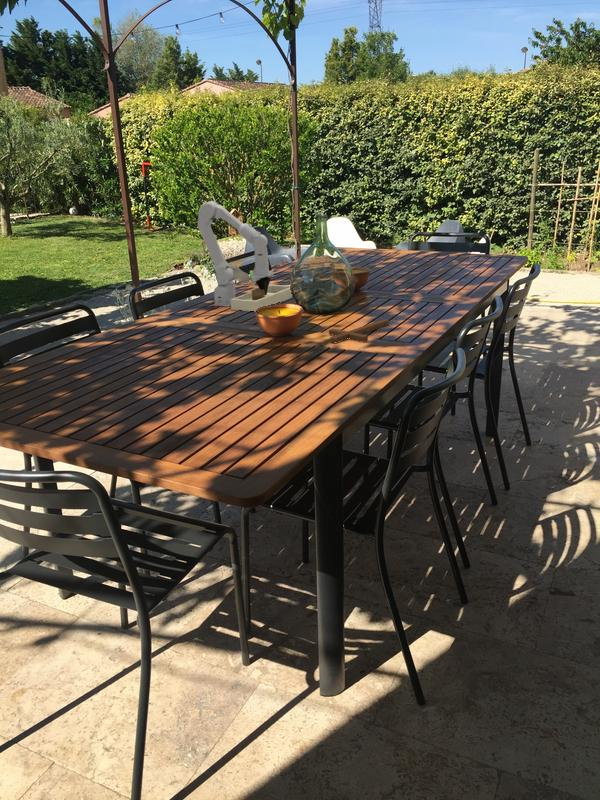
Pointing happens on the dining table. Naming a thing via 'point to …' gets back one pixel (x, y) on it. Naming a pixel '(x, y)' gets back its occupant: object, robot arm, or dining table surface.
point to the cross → (357, 332)
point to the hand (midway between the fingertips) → (264, 294)
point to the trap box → (273, 296)
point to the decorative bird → (243, 275)
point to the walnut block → (258, 294)
